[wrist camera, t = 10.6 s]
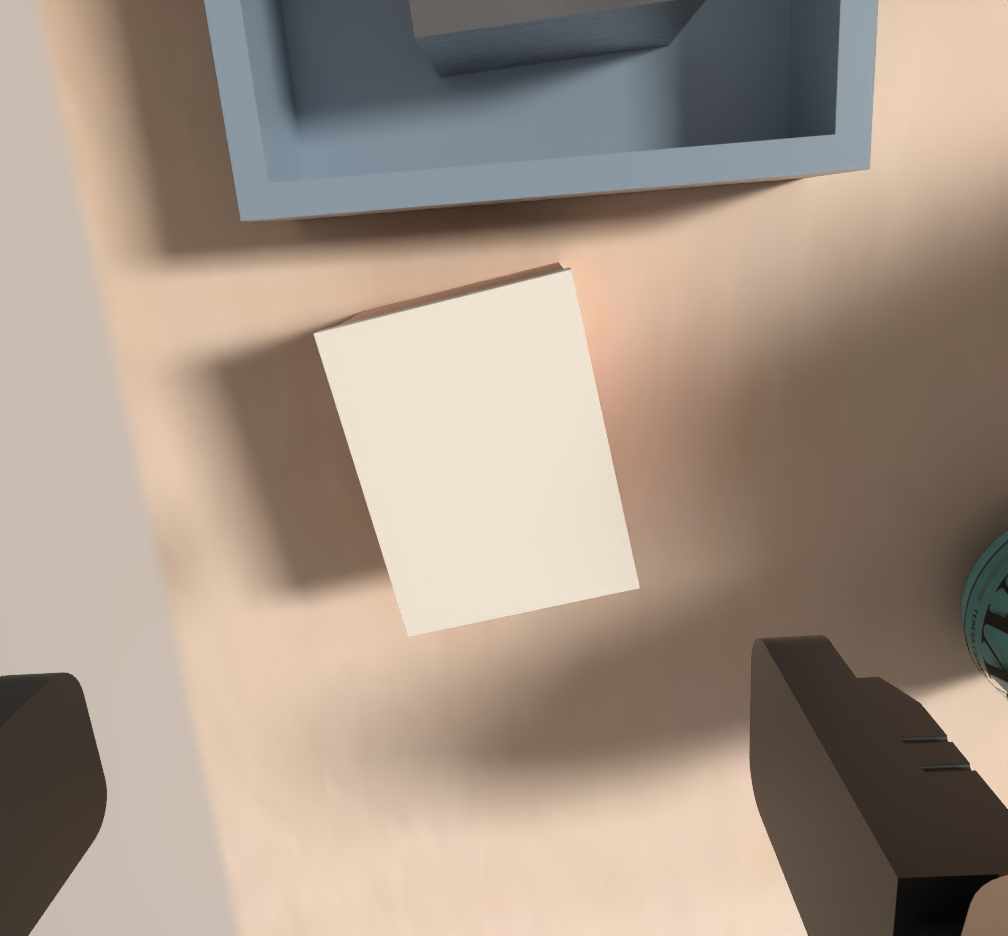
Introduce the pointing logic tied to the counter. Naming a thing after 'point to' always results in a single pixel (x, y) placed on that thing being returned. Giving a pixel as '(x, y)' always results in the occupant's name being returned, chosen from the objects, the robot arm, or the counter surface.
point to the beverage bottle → (988, 611)
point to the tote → (532, 108)
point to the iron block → (540, 30)
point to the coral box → (482, 449)
